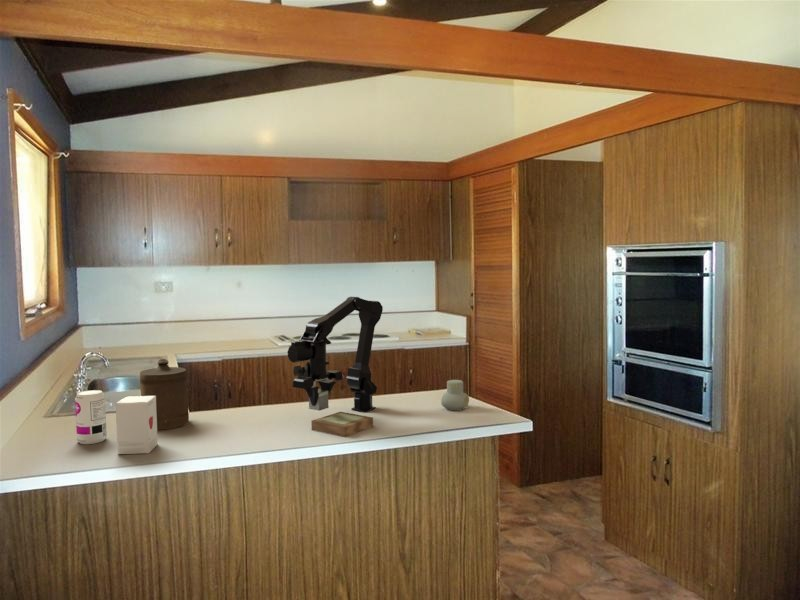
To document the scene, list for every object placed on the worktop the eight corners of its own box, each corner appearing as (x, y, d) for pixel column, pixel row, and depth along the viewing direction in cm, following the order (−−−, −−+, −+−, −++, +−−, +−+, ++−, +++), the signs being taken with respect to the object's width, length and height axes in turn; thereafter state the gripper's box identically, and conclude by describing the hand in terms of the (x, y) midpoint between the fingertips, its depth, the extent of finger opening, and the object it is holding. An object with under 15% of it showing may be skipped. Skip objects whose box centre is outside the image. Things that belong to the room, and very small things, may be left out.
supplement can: (76, 446, 190) (73, 396, 189) (78, 439, 197) (75, 391, 196) (106, 442, 193) (104, 393, 192) (107, 435, 200) (104, 388, 199)
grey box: (318, 406, 218) (318, 388, 218) (328, 407, 216) (328, 390, 215) (309, 408, 215) (308, 391, 214) (319, 410, 212) (318, 392, 212)
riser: (340, 420, 215) (340, 410, 215) (373, 426, 207) (372, 416, 207) (311, 429, 204) (311, 420, 204) (344, 436, 196) (344, 426, 196)
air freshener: (448, 404, 236) (448, 377, 235) (470, 406, 233) (470, 379, 232) (439, 411, 226) (439, 383, 225) (462, 413, 223) (462, 385, 222)
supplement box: (149, 453, 182) (147, 402, 180) (116, 455, 181) (114, 403, 180) (158, 444, 191) (156, 395, 190) (127, 445, 190) (125, 395, 189)
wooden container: (166, 416, 223) (163, 354, 222) (198, 421, 217) (195, 357, 215) (131, 427, 210) (128, 361, 208) (164, 432, 203) (161, 364, 202)
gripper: (319, 352, 226) (320, 396, 227) (280, 360, 211) (281, 406, 212) (342, 355, 220) (343, 400, 221) (304, 363, 205) (305, 411, 206)
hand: (318, 404), depth 215 cm, fingers closed on grey box, 5 cm apart
